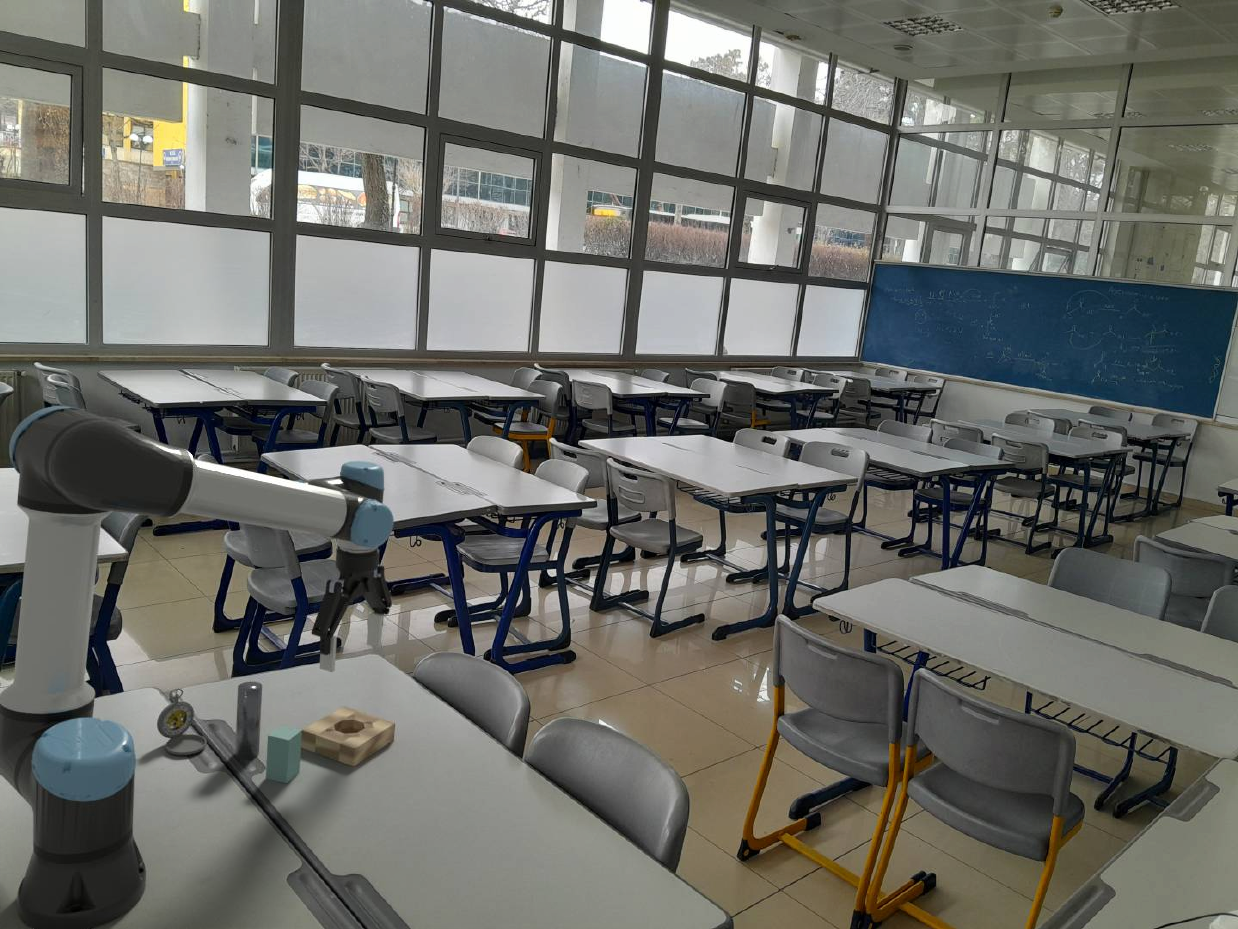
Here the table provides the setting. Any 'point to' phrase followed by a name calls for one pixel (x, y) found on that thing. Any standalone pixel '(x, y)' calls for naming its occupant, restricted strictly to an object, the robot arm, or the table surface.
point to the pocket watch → (179, 728)
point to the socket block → (348, 735)
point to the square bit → (283, 754)
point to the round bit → (248, 720)
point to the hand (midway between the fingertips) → (351, 657)
